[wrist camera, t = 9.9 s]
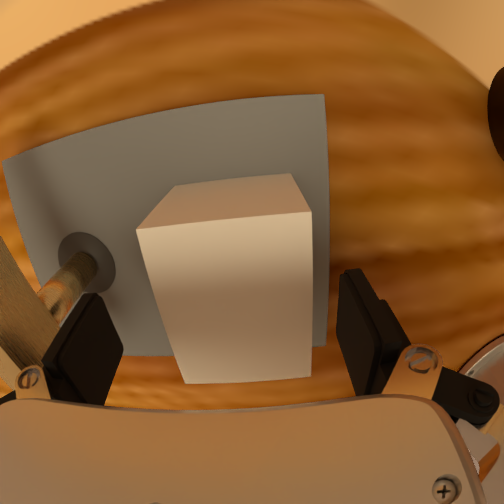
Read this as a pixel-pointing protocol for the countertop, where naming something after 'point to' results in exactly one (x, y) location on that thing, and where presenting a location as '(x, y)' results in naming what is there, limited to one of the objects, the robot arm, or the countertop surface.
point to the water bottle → (497, 111)
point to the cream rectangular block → (234, 278)
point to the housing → (163, 194)
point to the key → (35, 310)
